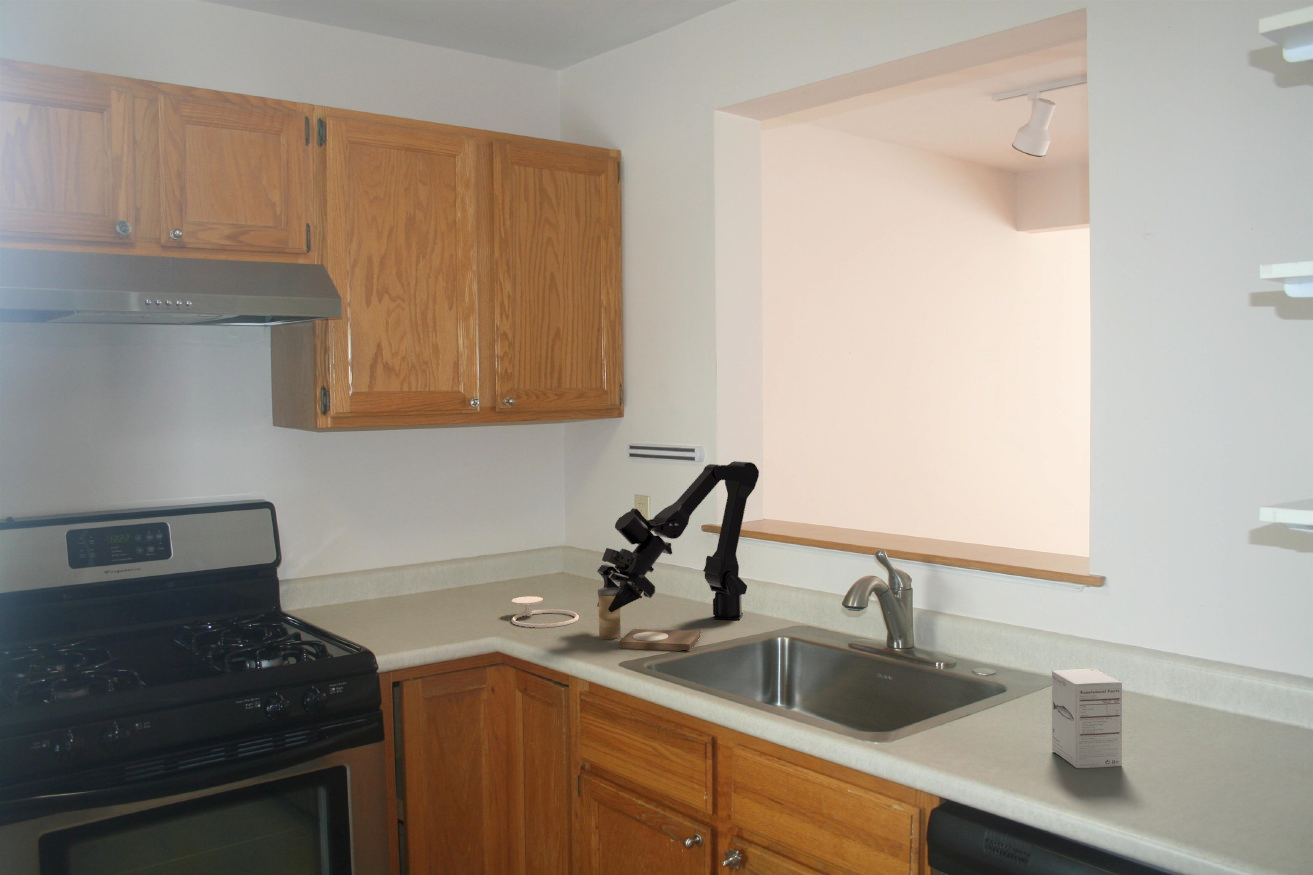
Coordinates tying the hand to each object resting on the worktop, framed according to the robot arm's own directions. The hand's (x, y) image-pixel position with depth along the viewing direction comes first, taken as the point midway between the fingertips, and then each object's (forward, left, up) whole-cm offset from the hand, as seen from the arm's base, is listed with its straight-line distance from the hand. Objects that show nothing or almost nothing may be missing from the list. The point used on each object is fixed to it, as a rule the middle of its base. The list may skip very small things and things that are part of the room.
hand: (604, 609), depth 227 cm
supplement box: (-93, +61, -7) cm, 111 cm away
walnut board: (-14, +3, -7) cm, 16 cm away
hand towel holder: (+22, -16, -7) cm, 28 cm away
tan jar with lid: (-1, -1, -7) cm, 7 cm away
